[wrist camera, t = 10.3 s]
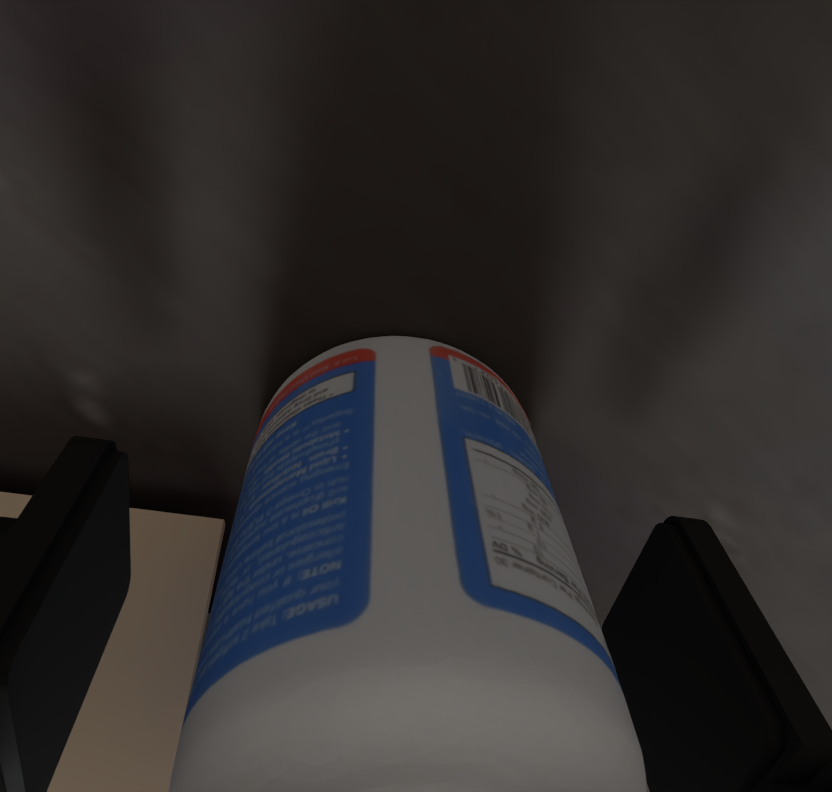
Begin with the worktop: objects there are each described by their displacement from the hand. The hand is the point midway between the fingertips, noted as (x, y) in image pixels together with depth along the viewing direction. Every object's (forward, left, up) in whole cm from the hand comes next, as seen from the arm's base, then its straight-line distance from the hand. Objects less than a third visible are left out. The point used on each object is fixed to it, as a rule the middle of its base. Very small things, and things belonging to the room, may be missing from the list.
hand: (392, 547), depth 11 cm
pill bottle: (0, 0, -3) cm, 3 cm away
